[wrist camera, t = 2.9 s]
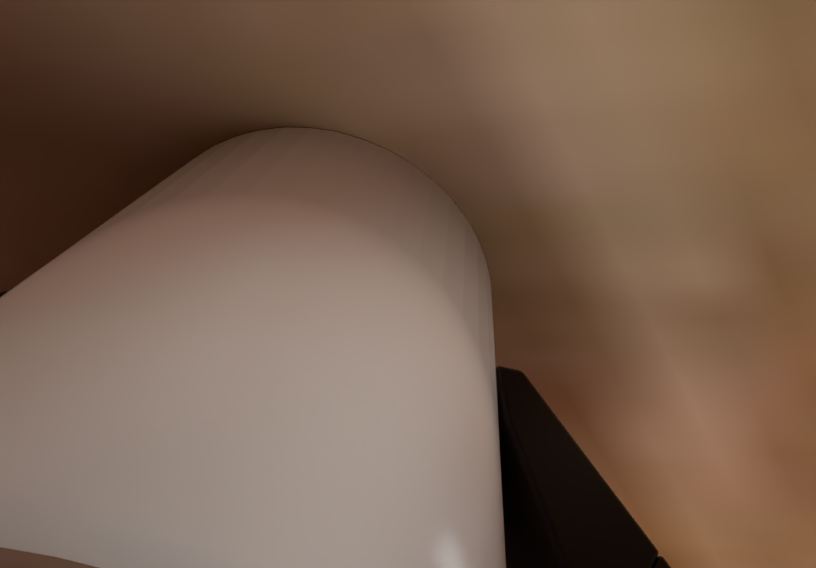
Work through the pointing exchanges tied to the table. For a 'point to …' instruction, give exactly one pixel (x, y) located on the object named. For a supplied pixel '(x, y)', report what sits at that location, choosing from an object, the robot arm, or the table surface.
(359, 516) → the espresso cup
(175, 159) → the table surface
